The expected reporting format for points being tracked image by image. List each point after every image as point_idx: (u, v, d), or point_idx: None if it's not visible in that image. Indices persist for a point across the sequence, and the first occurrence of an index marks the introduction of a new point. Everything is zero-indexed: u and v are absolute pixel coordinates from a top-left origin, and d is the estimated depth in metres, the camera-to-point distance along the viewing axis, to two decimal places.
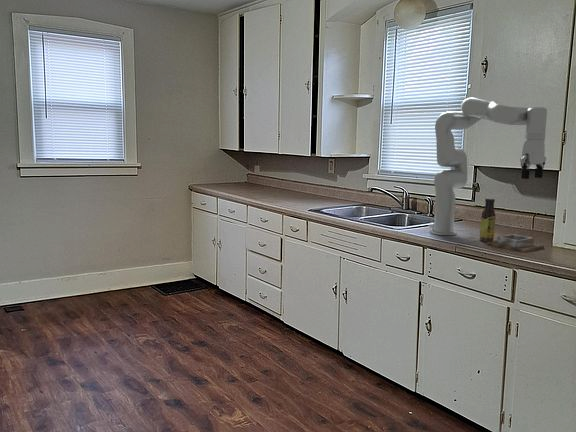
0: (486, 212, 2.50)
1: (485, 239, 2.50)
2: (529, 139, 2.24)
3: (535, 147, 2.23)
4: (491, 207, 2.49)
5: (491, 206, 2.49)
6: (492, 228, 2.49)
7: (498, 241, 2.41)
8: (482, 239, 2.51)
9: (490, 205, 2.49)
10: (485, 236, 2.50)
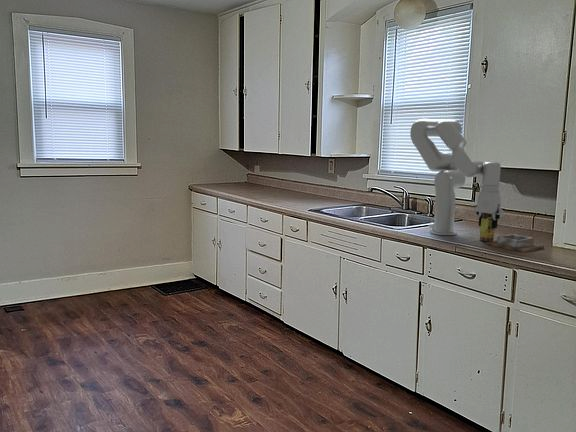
0: None
1: (485, 239, 2.50)
2: (496, 191, 2.46)
3: None
4: None
5: None
6: None
7: (498, 241, 2.41)
8: (482, 239, 2.51)
9: None
10: (485, 236, 2.50)
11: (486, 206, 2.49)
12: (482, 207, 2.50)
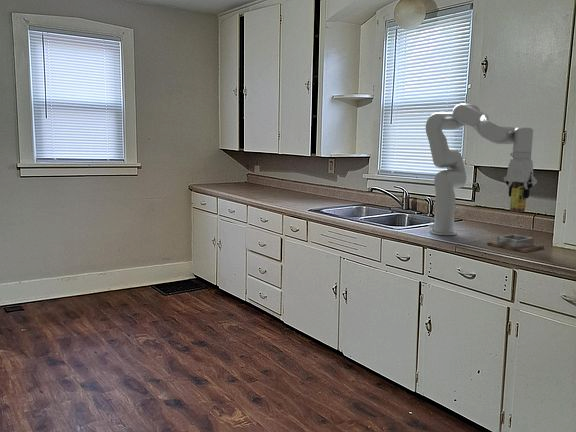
0: None
1: (516, 210, 2.36)
2: (529, 158, 2.31)
3: None
4: None
5: None
6: (524, 198, 2.35)
7: (498, 241, 2.41)
8: (513, 210, 2.37)
9: None
10: (516, 206, 2.35)
11: (518, 175, 2.34)
12: (513, 176, 2.35)
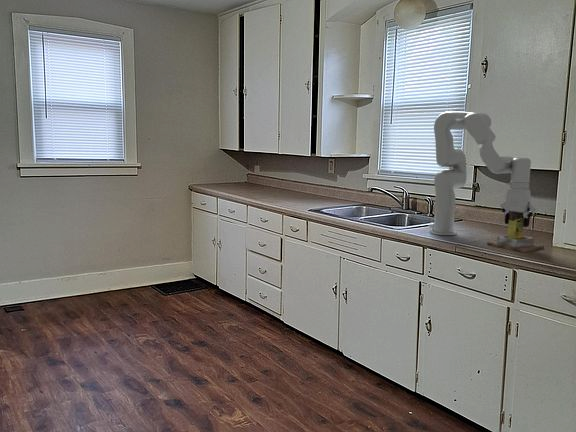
0: (514, 214, 2.37)
1: None
2: (526, 188, 2.33)
3: None
4: None
5: None
6: (521, 230, 2.37)
7: (498, 241, 2.41)
8: None
9: None
10: None
11: (515, 204, 2.36)
12: (511, 205, 2.37)
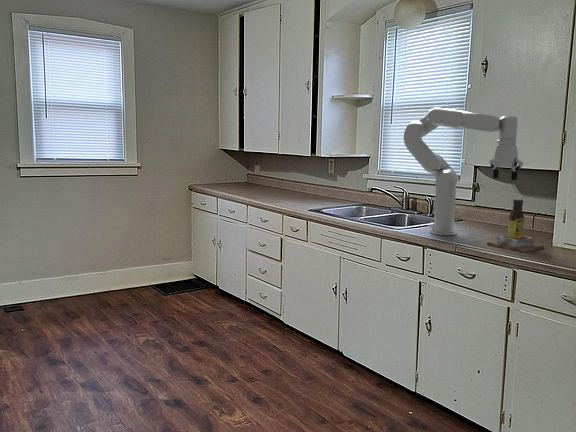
0: (514, 214, 2.37)
1: None
2: (514, 144, 2.51)
3: None
4: (519, 208, 2.37)
5: (519, 207, 2.37)
6: (521, 231, 2.37)
7: (498, 241, 2.41)
8: None
9: (519, 207, 2.37)
10: None
11: (503, 160, 2.53)
12: (499, 161, 2.55)
